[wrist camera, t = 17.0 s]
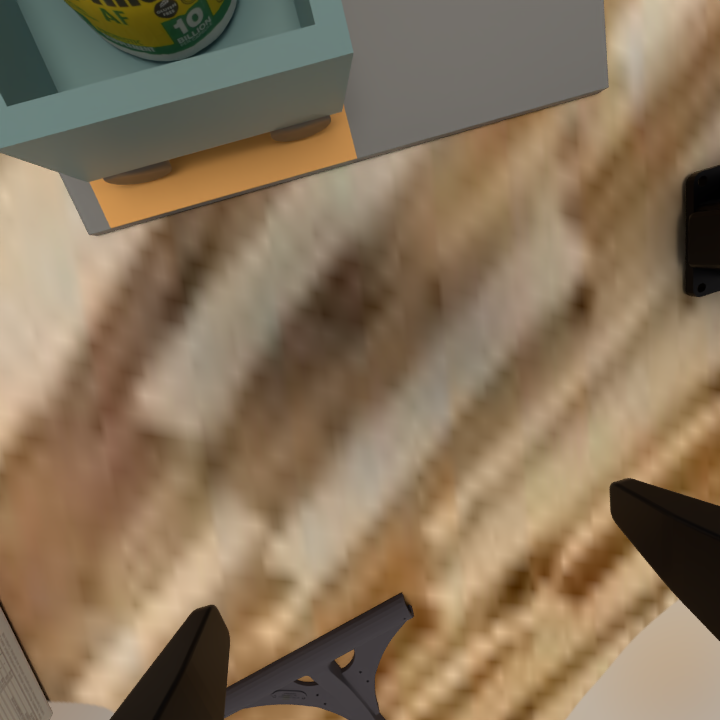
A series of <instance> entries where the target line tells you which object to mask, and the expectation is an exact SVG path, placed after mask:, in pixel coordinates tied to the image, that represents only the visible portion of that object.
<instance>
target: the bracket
mask: <svg viewBox="0 0 720 720" xmlns="http://www.w3.org/2000/svg"><path fill="white" fill-rule="evenodd" d="M413 617H414V613H413V609H412V607H411V606H410V605H408V606H406V604H405V601H404V597H403V594H402V593H400V594H398V595H396V596H395V597H393V598H391V599H389V600H387V601H385V602H384V603H382V604H380V605H378V606H376V607H374V608H373V609H371V610H369V611H367V612H365V613H363V614H361V615H360V616H358V617H356V618H354V619H352V620H350V621H349V622H347V623H345V624H343V625H341V626H339V627H338V628H336V629H334V630H332V631H330V632H328V633H327V634H325V635H323V636H321V637H319V638H317V639H316V640H314V641H312V642H310V643H308V644H306V645H305V646H303V647H301V648H299V649H297V650H295V651H294V652H292V653H290V654H288V655H286V656H284V657H283V658H281V659H279V660H277V661H275V662H273V663H272V664H270V665H268V666H266V667H264V668H262V669H261V670H259V671H257V672H255V673H253V674H251V675H249V676H248V677H246V678H244V679H242V680H240V681H238V682H237V683H235V684H233V685H231V686H229V687H227V688H226V700H225V713H224V718H226V717H228V716H230V715H232V714H233V713H235V712H237V711H239V710H241V709H244V708H250V707H256V706H264V705H276V704H293V705H304V706H313V707H319V708H322V709H325V710H328V711H331V712H333V713H336V714H338V715H341V716H343V717H344V718H346V719H348V720H385V719H384V717H383V716H382V715H381V714H380V713H379V707H378V703H377V700H376V696H375V673H376V670H377V667H378V664H379V661H380V659H381V657H382V654H383V652H384V651H385V649H386V647H387V645H388V644H389V642H390V641H391V639H392V638H393V636H394V635H395V634H396V633H397V631H398V630H399V629H400V628H401V627H402V625H403V624H404V623H405V622H406V621H407V620H409V619H411V618H413ZM353 649H354V651H355V653H354V657H353V659H352V660H351V662H350V663H349V664H348V665H347V666H346V667H344V668H342V669H341V668H340V667H339V665H338V664H337V663H336V662H335V661H334V660H335V659H336V658H338V657H340V656H342V655H344V654H346V653H347V652H349V651H351V650H353ZM303 676H310V677H311V678H312V679H313V680H314V682H303V681H299V680H297V679H299V678H301V677H303Z"/></svg>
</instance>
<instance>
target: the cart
mask: <svg viewBox="0 0 720 720" xmlns="http://www.w3.org/2000/svg"><path fill="white" fill-rule="evenodd" d="M353 53H354V52H353V48H352V44H351V39H350V35H349V31H348V27H347V22H346V18H345V14H344V10H343V6H342V1H341V0H237V3H236V7H235V10H234V13H233V15H232V17H231V19H230V21H229V23H228V24H227V26H226V27H225V29H224V31H223V32H222V33H221V34H220V36H219V37H218V38H217V39H216V40H214V41H213V42H212V43H211V44H209V45H208V46H206V47H205V48H203V49H202V50H200V51H198V52H197V53H195V54H194V55H192V56H189V57H187V58H185V59H182V60H176V61H154V60H148V59H143V58H140V57H137V56H134V55H132V54H129V53H127V52H124V51H122V50H120V49H118V48H117V47H115V46H113V45H112V44H110V43H109V42H107V41H106V40H105V39H103V38H102V37H101V36H100V35H99V34H97V33H96V32H95V31H94V30H93V29H92V28H91V27H90V26H89V25H88V24H87V23H86V22H85V21H84V20H83V19H81V18H80V17H79V15H78V14H77V13H76V12H75V11H74V10H73V9H72V8H71V7H70V6H68V5H67V4H66V3H65V2H64V0H0V153H3V154H6V155H9V156H12V157H15V158H18V159H21V160H23V161H26V162H29V163H32V164H35V165H38V166H41V167H44V168H47V169H50V170H53V171H56V172H59V173H62V174H65V175H68V176H71V177H74V178H76V179H79V180H82V181H85V182H91V181H95V180H98V179H102V178H103V180H104V181H105V182H107V183H111V184H117V185H130V184H139V183H145V182H149V181H153V180H156V179H159V178H162V177H164V176H166V175H167V174H169V173H170V172H171V171H172V167H171V164H170V162H169V160H170V159H174V158H177V157H181V156H184V155H188V154H192V153H195V152H199V151H202V150H206V149H210V148H213V147H217V146H220V145H224V144H228V143H231V142H235V141H238V140H242V139H246V138H249V137H253V136H256V135H260V134H264V133H267V132H270V135H271V137H272V139H273V140H276V141H281V142H287V141H295V140H299V139H303V138H306V137H309V136H312V135H314V134H316V133H318V132H320V131H322V130H323V129H325V128H326V127H327V126H328V125H329V124H330V122H331V117H330V115H332V114H336V113H339V112H342V109H343V104H344V99H345V94H346V89H347V84H348V79H349V74H350V68H351V63H352V58H353Z"/></svg>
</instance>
